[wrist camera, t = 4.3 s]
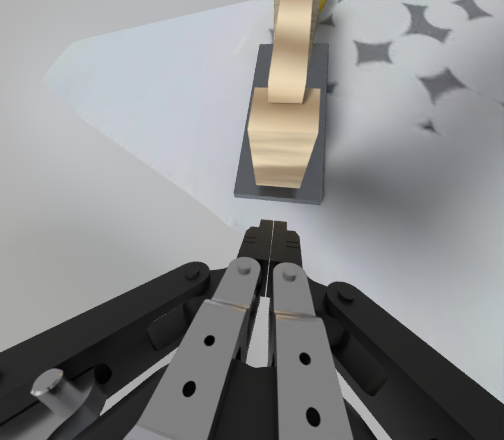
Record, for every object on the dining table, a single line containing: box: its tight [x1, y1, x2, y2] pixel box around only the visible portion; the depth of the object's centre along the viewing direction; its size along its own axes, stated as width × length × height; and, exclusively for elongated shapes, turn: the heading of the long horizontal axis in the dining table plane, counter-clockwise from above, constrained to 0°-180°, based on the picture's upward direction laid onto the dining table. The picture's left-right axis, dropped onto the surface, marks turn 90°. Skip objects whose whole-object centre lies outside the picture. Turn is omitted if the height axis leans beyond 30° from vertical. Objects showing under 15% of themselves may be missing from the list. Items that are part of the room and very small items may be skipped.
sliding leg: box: [248, 0, 320, 188], centre depth 20 cm, size 20×5×12 cm, turn 172°
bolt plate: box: [234, 0, 328, 205], centre depth 23 cm, size 27×11×12 cm, turn 172°
